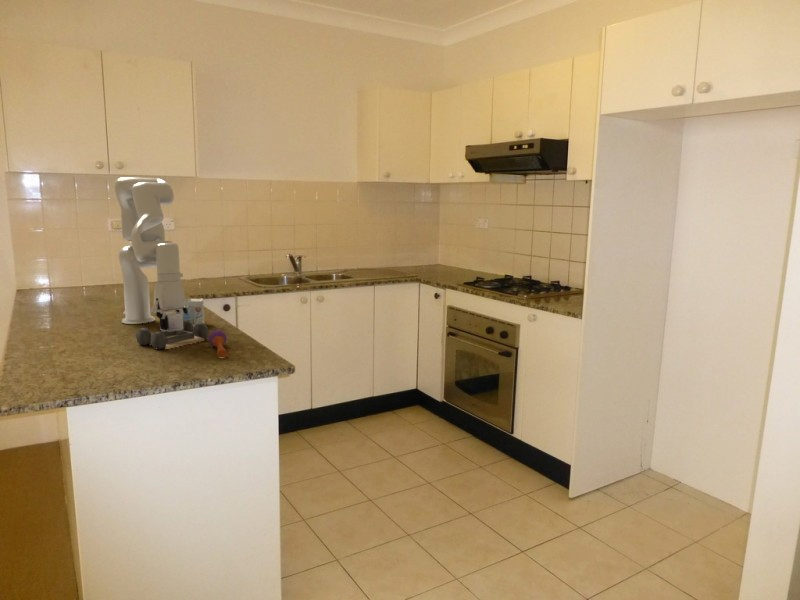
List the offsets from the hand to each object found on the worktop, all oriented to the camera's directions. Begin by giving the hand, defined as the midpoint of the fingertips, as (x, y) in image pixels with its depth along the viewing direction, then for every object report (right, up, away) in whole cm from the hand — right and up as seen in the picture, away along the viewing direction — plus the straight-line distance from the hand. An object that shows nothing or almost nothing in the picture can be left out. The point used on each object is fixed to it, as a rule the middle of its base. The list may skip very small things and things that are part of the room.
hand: (171, 327), depth 206 cm
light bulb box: (-3, -1, +27) cm, 28 cm away
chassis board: (0, -5, +1) cm, 5 cm away
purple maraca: (+20, -8, -10) cm, 24 cm away
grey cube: (0, -1, 0) cm, 1 cm away
